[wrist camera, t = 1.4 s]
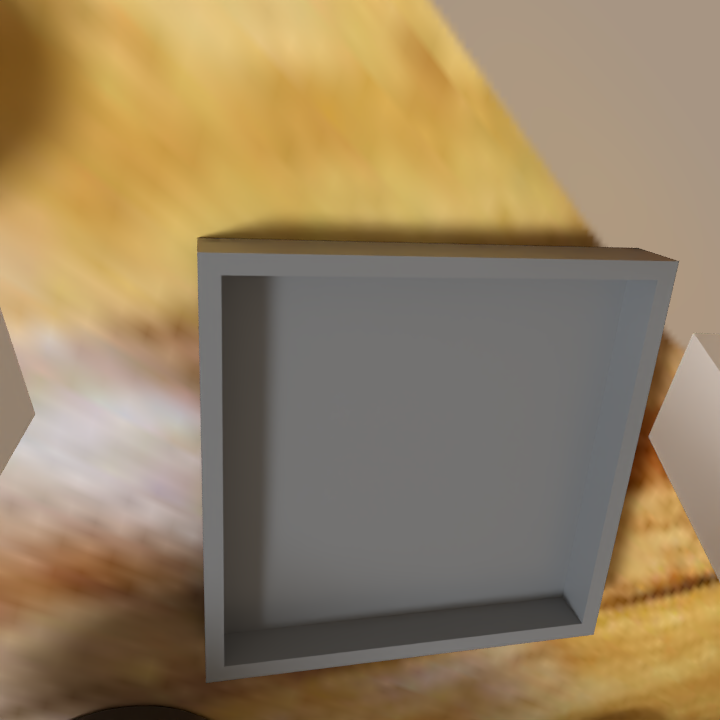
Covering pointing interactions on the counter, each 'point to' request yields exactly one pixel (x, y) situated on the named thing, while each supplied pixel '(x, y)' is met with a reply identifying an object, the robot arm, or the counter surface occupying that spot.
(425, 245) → the walled tray
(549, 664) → the counter surface
